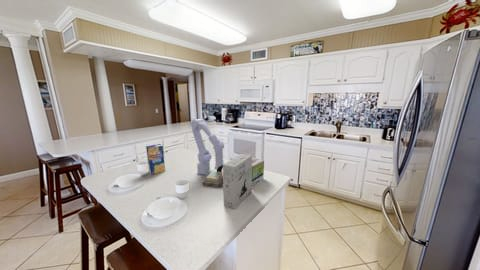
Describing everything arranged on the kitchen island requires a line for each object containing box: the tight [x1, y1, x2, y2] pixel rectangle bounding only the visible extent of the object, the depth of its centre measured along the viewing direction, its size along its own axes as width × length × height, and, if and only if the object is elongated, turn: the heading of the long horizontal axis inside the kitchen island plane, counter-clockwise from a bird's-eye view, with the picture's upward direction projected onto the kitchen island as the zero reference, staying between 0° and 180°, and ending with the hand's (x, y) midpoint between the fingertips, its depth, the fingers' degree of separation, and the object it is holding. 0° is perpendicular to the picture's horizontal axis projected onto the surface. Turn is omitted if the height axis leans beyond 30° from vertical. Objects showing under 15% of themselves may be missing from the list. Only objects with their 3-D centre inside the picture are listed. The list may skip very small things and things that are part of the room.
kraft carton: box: [205, 170, 223, 183], centre depth 131 cm, size 8×12×5 cm, turn 167°
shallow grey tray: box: [201, 178, 223, 189], centre depth 130 cm, size 13×15×2 cm
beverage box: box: [146, 143, 166, 175], centre depth 145 cm, size 7×11×22 cm, turn 129°
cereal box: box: [222, 153, 253, 210], centre depth 106 cm, size 22×8×25 cm, turn 151°
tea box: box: [252, 157, 265, 187], centre depth 130 cm, size 15×10×15 cm, turn 143°
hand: (219, 174), depth 138 cm, fingers closed
